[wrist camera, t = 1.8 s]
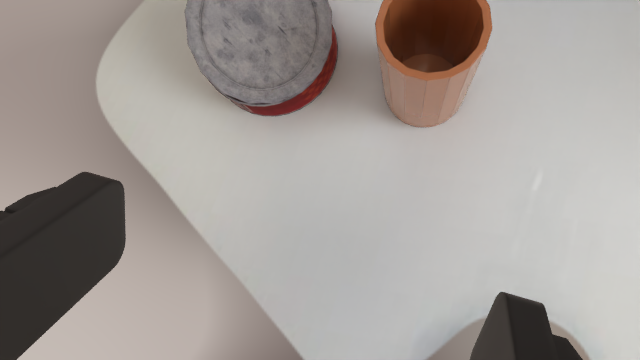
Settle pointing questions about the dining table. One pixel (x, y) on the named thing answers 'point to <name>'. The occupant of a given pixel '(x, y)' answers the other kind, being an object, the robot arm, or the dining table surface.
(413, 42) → the tumbler
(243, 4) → the canned food
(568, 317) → the dining table surface
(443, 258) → the dining table surface
